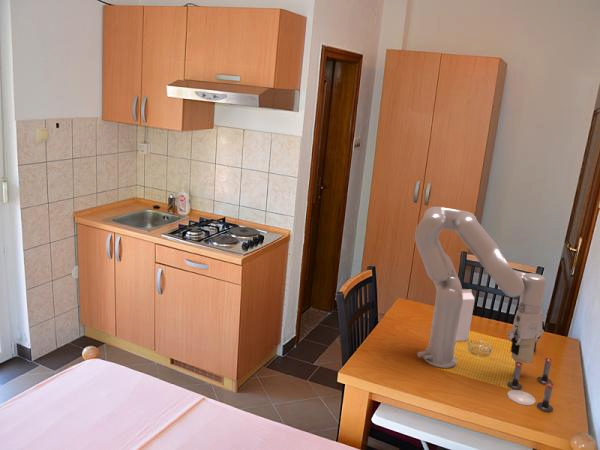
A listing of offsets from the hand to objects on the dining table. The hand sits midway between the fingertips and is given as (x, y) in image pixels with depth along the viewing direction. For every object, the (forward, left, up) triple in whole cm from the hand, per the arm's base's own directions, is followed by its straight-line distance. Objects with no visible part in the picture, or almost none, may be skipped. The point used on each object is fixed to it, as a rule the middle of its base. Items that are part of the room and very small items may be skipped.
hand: (522, 351), depth 195 cm
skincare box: (0, 0, -4) cm, 4 cm away
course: (0, -13, -10) cm, 16 cm away
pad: (-11, -13, -10) cm, 20 cm away
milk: (-2, +33, -10) cm, 34 cm away
